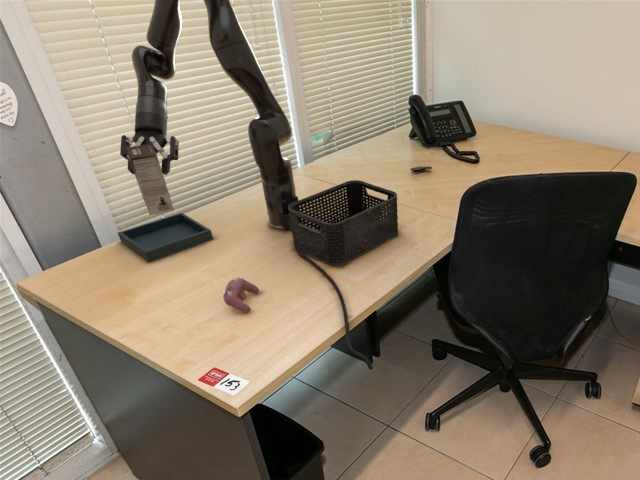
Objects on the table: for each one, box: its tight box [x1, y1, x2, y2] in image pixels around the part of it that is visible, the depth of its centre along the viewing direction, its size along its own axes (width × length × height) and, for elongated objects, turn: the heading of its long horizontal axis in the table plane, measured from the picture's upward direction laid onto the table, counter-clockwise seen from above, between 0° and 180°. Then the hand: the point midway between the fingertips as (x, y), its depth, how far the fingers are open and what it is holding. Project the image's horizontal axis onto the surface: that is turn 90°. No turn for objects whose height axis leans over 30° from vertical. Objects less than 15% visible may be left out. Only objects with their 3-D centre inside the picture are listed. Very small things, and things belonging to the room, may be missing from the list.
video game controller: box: [222, 277, 260, 314], centre depth 127 cm, size 10×5×7 cm, turn 5°
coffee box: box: [126, 144, 175, 216], centre depth 140 cm, size 9×6×16 cm
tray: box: [117, 212, 214, 263], centre depth 150 cm, size 17×19×3 cm
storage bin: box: [288, 179, 399, 267], centre depth 153 cm, size 29×19×13 cm
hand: (148, 173), depth 141 cm, fingers closed on coffee box, 7 cm apart
